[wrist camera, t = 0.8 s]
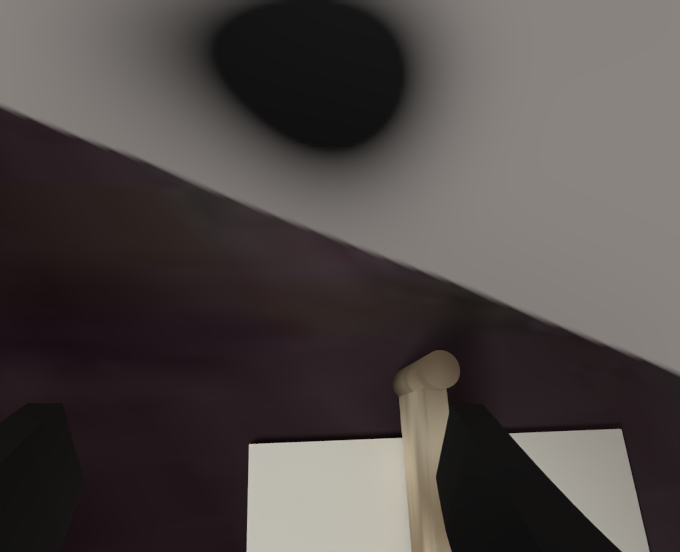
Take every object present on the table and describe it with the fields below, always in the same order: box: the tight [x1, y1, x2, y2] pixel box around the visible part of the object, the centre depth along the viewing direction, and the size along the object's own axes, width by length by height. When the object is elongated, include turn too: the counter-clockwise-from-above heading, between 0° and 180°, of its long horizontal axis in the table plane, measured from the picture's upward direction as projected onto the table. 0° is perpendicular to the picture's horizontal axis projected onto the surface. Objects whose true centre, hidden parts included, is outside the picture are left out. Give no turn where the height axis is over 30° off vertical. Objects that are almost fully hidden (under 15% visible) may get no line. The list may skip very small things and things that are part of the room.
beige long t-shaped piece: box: [392, 350, 460, 552], centre depth 21 cm, size 12×2×5 cm, turn 3°
